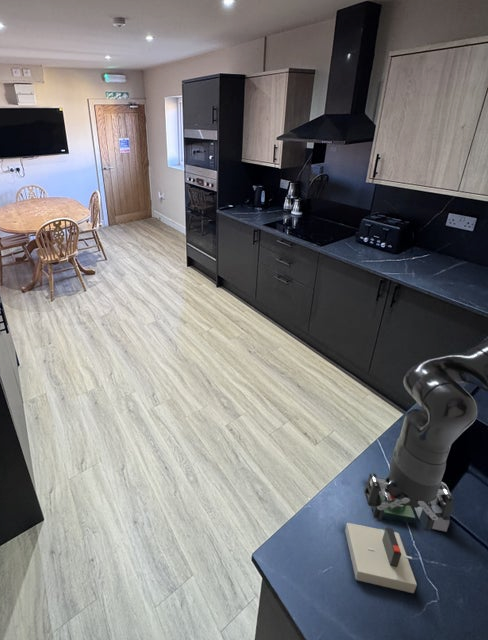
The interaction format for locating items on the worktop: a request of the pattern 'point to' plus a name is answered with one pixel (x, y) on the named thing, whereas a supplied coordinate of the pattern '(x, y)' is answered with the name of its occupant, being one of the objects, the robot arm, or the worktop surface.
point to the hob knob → (391, 547)
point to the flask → (439, 523)
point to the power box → (399, 513)
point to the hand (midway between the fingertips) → (400, 521)
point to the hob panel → (377, 559)
